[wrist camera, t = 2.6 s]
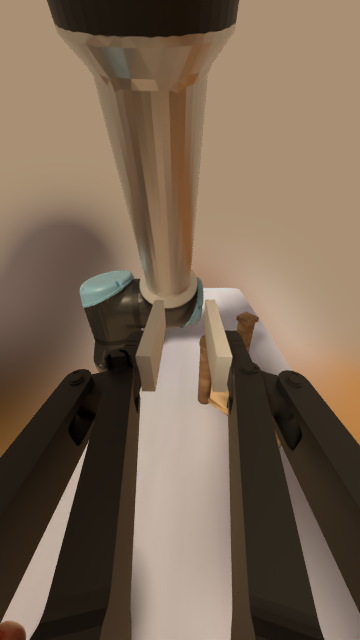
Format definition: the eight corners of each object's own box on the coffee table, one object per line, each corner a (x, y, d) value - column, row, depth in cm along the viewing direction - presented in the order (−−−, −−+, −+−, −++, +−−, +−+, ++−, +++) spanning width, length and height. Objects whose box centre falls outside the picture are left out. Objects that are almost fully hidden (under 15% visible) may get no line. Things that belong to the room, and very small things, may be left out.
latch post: (228, 364, 48) (237, 315, 40) (237, 360, 50) (246, 311, 42) (238, 372, 46) (248, 322, 38) (246, 367, 47) (258, 317, 40)
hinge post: (194, 396, 40) (196, 334, 31) (205, 390, 42) (210, 329, 33) (202, 407, 38) (206, 343, 29) (213, 401, 39) (221, 338, 30)
